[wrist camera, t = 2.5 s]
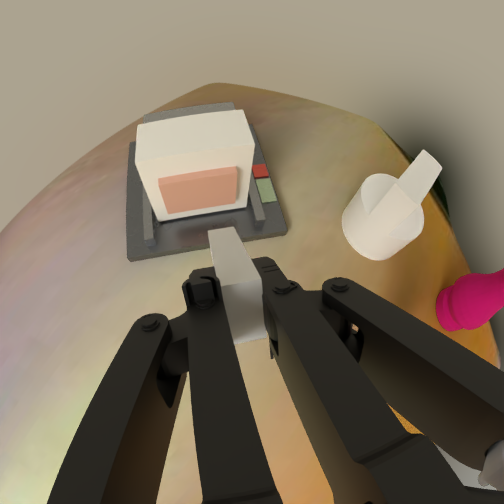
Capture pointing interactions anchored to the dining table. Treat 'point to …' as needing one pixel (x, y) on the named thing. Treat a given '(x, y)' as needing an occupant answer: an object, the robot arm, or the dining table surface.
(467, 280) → the pepper mill
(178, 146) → the white block
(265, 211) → the track
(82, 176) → the dining table surface
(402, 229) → the base with upright slab
